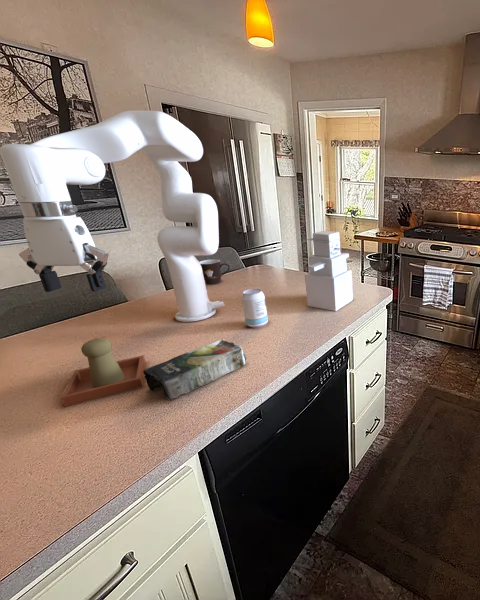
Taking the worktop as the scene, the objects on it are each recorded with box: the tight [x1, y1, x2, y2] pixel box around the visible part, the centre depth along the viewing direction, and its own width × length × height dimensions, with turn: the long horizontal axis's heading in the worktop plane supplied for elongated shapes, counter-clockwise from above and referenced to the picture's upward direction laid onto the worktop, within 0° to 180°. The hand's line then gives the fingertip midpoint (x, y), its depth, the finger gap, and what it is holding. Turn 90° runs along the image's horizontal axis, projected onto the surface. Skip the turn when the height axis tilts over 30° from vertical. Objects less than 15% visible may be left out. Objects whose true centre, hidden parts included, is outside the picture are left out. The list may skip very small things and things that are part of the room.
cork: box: [80, 337, 125, 388], centre depth 77 cm, size 6×6×11 cm
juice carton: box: [143, 338, 247, 401], centre depth 81 cm, size 20×10×6 cm, turn 149°
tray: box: [60, 354, 147, 408], centre depth 79 cm, size 14×13×2 cm
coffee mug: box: [199, 259, 231, 285], centre depth 151 cm, size 12×9×10 cm
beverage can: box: [241, 288, 269, 329], centre depth 108 cm, size 7×7×12 cm
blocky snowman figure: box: [304, 230, 354, 312], centre depth 125 cm, size 13×24×28 cm, turn 158°
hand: (76, 289), depth 73 cm, fingers open, 9 cm apart
